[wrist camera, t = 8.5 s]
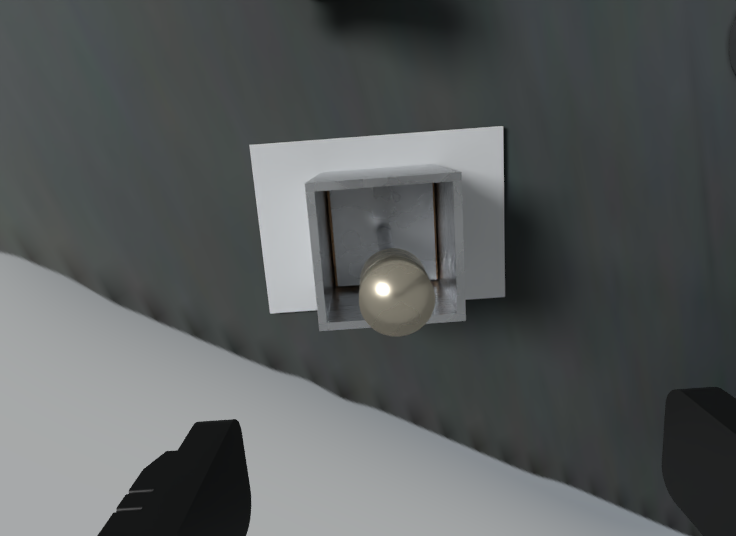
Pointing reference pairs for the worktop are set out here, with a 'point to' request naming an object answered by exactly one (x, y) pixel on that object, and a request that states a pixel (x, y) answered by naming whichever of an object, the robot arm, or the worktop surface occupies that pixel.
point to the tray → (309, 158)
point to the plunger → (387, 253)
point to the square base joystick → (449, 286)
